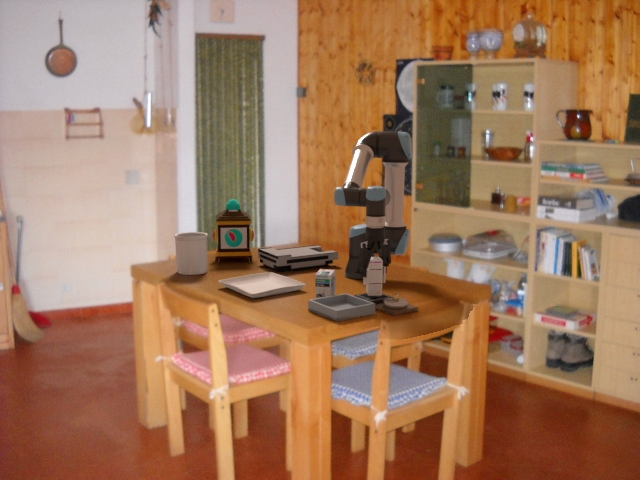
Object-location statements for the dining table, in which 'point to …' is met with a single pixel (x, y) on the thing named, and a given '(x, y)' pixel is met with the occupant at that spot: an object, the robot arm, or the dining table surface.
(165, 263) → the dining table surface
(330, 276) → the light bulb box
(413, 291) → the dining table surface
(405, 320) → the dining table surface
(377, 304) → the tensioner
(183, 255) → the utensil holder
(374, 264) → the syrup box
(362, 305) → the tray
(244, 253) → the decorative lantern
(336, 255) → the game console
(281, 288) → the square plate
